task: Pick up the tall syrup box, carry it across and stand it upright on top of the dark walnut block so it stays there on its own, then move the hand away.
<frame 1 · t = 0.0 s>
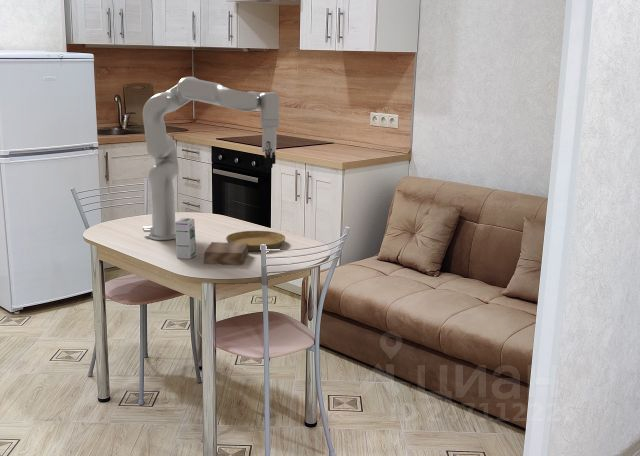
hand: (270, 165, 293), 31 cm above the table, tool pointing down, fingers open, 9 cm apart
syrup box: (186, 257, 275), on the table
walnut block: (226, 260, 273), on the table
plant saucer: (256, 245, 293), on the table
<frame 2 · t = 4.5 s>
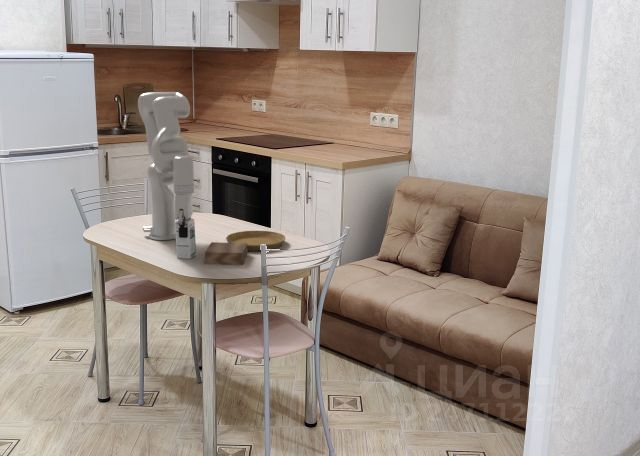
hand: (185, 234, 273), 9 cm above the table, tool pointing down, fingers closed on syrup box, 6 cm apart
syrup box: (186, 257, 275), on the table, touching gripper
everything else where it was.
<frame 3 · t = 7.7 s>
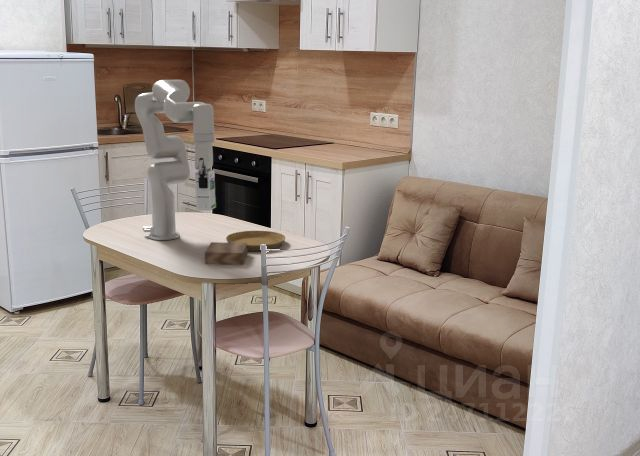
hand: (205, 186, 267), 28 cm above the table, tool pointing down, fingers closed on syrup box, 6 cm apart
syrup box: (206, 209, 269), point 19 cm above the table, touching gripper
everything else where it was.
when the fingers open (14 cm above the table, at t = 11.0 s): syrup box drops 1 cm, resting on walnut block.
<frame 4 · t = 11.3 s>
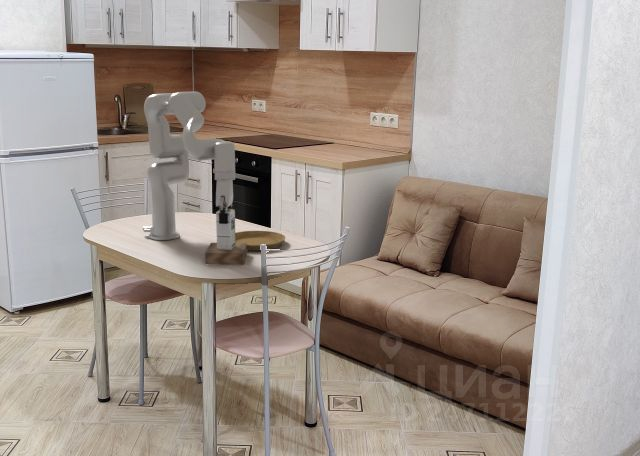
hand: (225, 220, 269), 15 cm above the table, tool pointing down, fingers open, 9 cm apart
syrup box: (226, 248, 272), point 4 cm above the table, touching walnut block
walnut block: (226, 260, 273), on the table, touching syrup box
everything else where it was.
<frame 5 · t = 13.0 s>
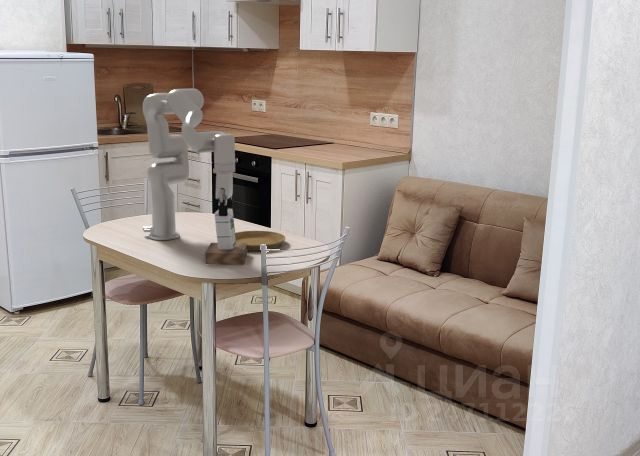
hand: (225, 213, 268), 18 cm above the table, tool pointing down, fingers open, 9 cm apart
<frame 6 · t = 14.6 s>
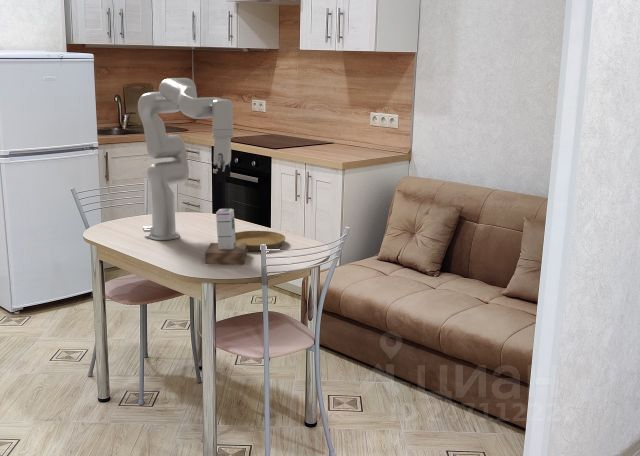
hand: (223, 179, 267), 30 cm above the table, tool pointing down, fingers open, 9 cm apart
syrup box: (227, 248, 271), point 4 cm above the table
walnut block: (226, 260, 273), on the table
everything else where it was.
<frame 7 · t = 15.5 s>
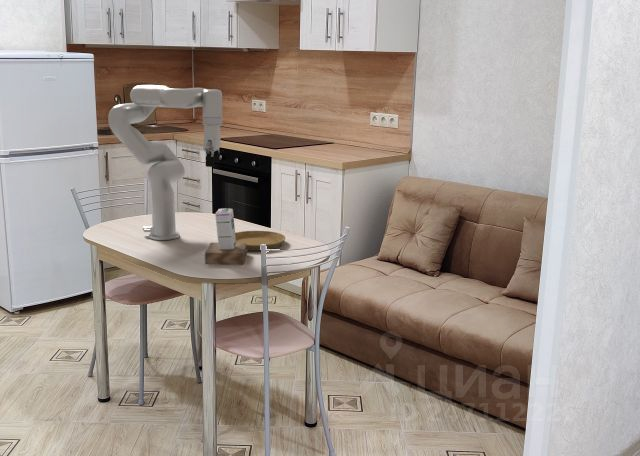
hand: (212, 164, 286), 33 cm above the table, tool pointing down, fingers open, 9 cm apart
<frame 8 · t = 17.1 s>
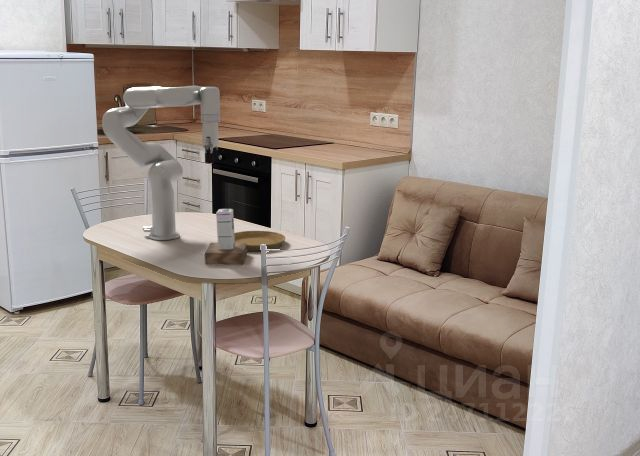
hand: (211, 161, 289), 33 cm above the table, tool pointing down, fingers open, 9 cm apart
syrup box: (226, 248, 271), point 4 cm above the table, touching walnut block
walnut block: (226, 260, 273), on the table, touching syrup box
everything else where it was.
at the end: syrup box inside the target area on the walnut block (0.6 cm from its centre), point 5.1 cm above the walnut block's base; syrup box tilted 4°; the gripper is holding nothing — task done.
